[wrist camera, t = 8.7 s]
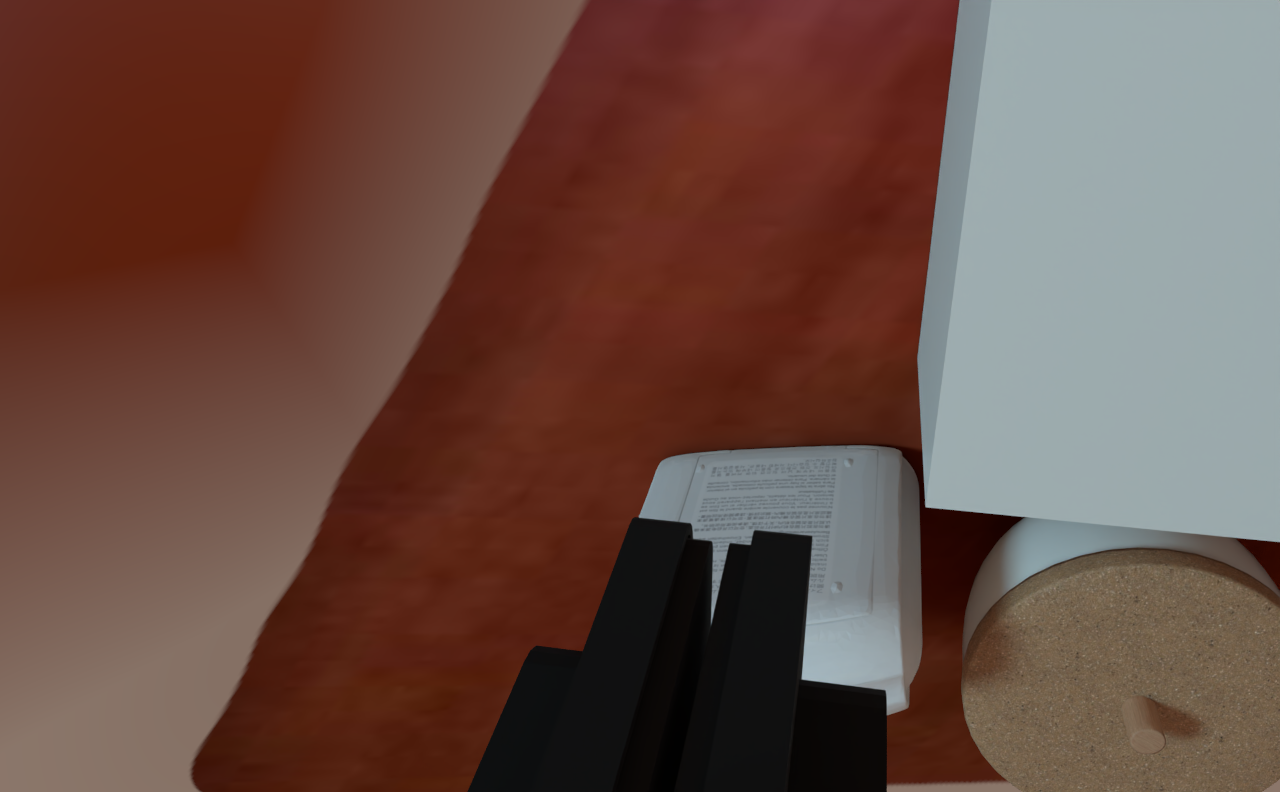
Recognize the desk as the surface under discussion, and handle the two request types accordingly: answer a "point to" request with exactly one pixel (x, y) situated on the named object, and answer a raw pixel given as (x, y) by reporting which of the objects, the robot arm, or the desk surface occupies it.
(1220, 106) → the storage box
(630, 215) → the desk surface
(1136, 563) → the lidded jar
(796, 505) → the photo printer
